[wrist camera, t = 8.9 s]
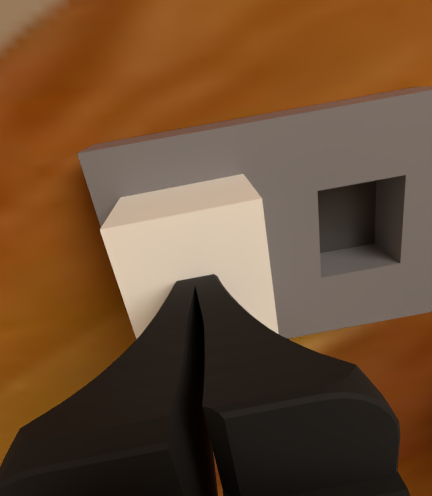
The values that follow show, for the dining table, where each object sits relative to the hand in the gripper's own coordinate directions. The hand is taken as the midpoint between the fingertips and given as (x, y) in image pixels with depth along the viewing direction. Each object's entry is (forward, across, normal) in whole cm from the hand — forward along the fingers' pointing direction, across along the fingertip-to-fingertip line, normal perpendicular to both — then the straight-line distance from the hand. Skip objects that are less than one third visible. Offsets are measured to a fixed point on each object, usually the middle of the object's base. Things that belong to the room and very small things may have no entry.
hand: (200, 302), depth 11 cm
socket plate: (+6, -4, 0) cm, 7 cm away
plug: (+5, 0, 0) cm, 5 cm away
